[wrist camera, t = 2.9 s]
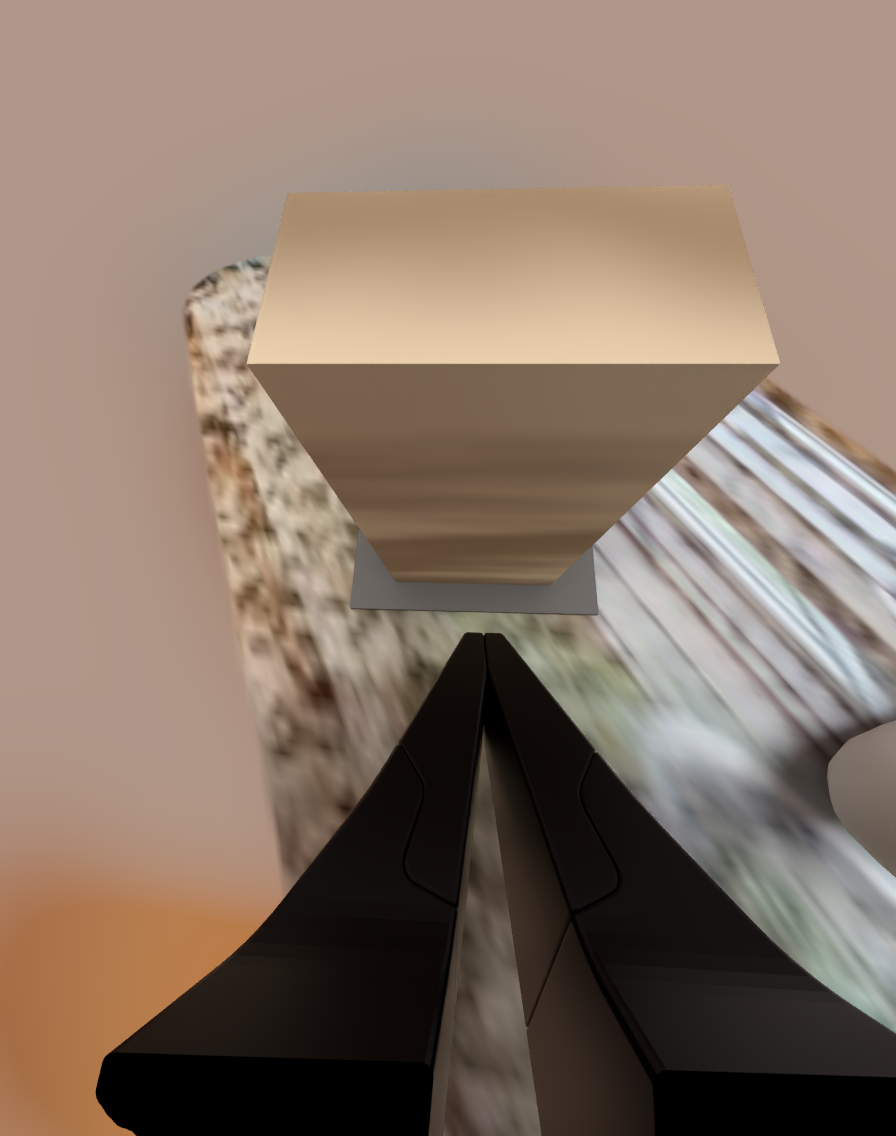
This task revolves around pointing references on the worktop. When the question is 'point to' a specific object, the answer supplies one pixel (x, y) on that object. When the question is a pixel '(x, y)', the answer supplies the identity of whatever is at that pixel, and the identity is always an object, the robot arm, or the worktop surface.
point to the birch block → (505, 361)
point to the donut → (868, 791)
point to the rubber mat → (472, 590)
